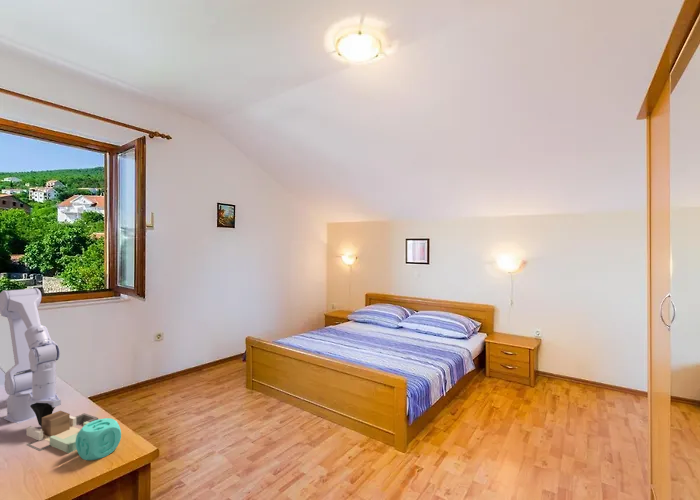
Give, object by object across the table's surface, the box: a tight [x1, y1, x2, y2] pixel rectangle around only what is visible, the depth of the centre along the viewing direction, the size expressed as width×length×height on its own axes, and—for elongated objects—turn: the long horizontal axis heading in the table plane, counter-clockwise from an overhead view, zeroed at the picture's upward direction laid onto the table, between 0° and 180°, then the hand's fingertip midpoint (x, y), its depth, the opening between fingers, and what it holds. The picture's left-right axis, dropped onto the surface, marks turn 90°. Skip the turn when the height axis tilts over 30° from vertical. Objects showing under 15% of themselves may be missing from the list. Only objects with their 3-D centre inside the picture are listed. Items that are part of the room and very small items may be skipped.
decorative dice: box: [76, 417, 122, 461], centre depth 100 cm, size 8×8×8 cm
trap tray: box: [25, 413, 99, 454], centre depth 107 cm, size 22×16×3 cm
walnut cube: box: [41, 410, 71, 437], centre depth 109 cm, size 5×5×5 cm
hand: (44, 424), depth 112 cm, fingers closed
